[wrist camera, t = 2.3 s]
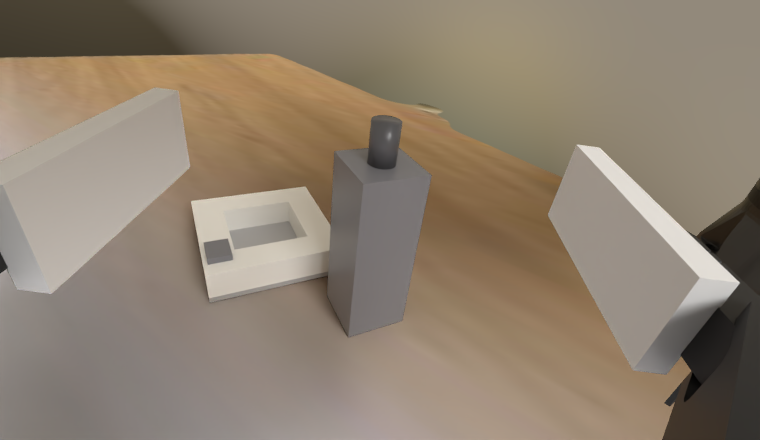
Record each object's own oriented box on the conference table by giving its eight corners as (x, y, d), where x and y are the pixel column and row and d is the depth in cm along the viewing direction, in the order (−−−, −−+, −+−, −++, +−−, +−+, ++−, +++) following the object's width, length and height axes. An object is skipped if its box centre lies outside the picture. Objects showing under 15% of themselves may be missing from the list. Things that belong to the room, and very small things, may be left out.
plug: (377, 283, 38) (402, 106, 29) (402, 320, 34) (440, 132, 25) (327, 295, 36) (336, 109, 26) (348, 337, 32) (367, 138, 23)
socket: (305, 208, 47) (305, 181, 45) (342, 272, 39) (344, 242, 37) (195, 225, 42) (190, 196, 40) (209, 302, 34) (204, 270, 32)
